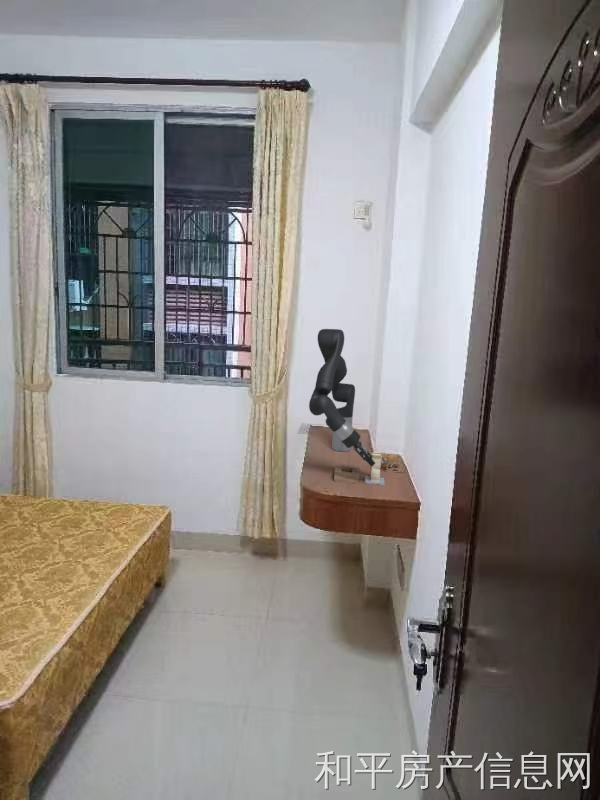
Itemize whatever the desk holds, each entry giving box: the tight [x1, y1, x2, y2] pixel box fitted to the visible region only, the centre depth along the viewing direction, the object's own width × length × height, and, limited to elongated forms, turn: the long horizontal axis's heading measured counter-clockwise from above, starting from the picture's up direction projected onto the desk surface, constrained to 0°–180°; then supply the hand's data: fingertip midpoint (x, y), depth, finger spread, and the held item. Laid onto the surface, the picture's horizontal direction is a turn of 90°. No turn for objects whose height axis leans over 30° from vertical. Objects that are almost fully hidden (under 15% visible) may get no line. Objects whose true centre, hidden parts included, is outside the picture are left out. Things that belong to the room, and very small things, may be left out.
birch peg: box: [369, 452, 381, 482], centre depth 249 cm, size 4×4×11 cm
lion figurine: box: [379, 451, 401, 472], centre depth 267 cm, size 15×5×9 cm, turn 139°
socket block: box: [333, 465, 360, 484], centre depth 252 cm, size 10×10×4 cm
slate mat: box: [364, 475, 386, 486], centre depth 250 cm, size 8×8×1 cm
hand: (372, 461), depth 249 cm, fingers open, 8 cm apart
